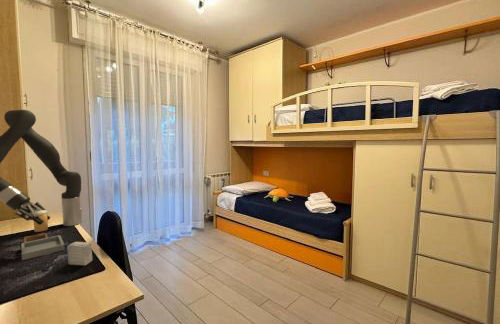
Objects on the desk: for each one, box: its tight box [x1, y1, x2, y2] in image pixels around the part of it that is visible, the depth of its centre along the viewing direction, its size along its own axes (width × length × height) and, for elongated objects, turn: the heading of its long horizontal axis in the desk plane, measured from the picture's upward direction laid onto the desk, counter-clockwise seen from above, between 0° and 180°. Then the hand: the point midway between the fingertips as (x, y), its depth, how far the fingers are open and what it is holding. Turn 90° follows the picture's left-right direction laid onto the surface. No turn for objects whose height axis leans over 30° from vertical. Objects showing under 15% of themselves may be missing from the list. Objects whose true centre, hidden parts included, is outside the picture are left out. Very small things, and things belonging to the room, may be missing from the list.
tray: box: [20, 234, 65, 261], centre depth 117 cm, size 15×15×3 cm
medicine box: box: [66, 241, 93, 266], centre depth 105 cm, size 8×4×9 cm, turn 84°
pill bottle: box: [33, 209, 49, 233], centre depth 116 cm, size 5×5×9 cm
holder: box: [23, 232, 49, 243], centre depth 126 cm, size 9×9×2 cm
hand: (45, 221), depth 116 cm, fingers closed on pill bottle, 5 cm apart
